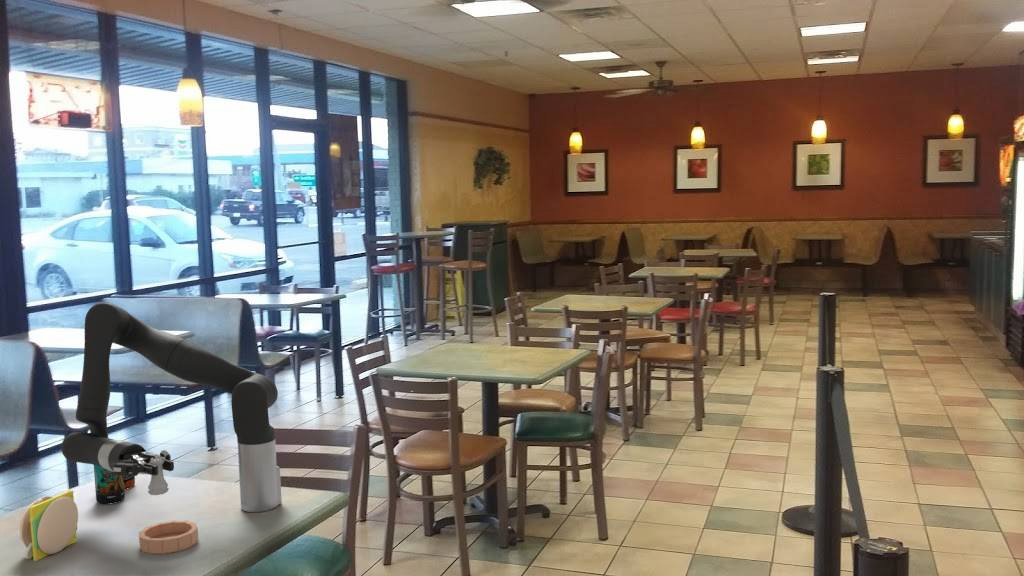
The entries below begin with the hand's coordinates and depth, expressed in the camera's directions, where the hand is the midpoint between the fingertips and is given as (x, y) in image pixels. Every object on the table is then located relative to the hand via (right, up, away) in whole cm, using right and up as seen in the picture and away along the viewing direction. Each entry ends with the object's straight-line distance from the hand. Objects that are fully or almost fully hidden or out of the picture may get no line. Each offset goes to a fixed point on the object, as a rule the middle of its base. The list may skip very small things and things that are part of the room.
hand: (164, 468), depth 208 cm
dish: (0, -18, +2) cm, 18 cm away
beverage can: (-27, -15, +34) cm, 46 cm away
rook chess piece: (-2, -6, +2) cm, 7 cm away
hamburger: (-26, -19, 0) cm, 32 cm away
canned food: (-30, -14, +46) cm, 57 cm away
